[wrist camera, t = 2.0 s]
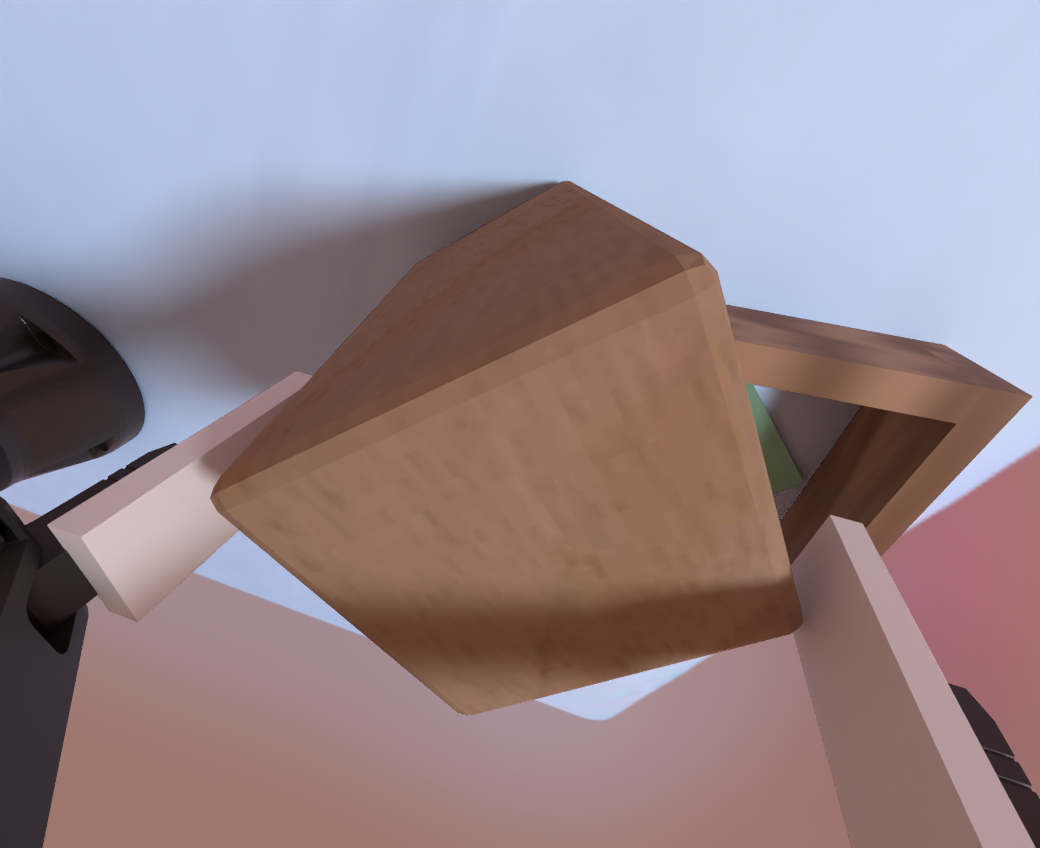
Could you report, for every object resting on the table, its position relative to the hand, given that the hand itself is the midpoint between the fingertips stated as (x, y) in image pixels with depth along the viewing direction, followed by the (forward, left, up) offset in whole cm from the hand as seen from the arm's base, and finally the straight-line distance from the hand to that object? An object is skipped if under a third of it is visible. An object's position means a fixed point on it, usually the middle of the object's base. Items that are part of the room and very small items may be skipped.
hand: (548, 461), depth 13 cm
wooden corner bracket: (+13, -9, -16) cm, 22 cm away
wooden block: (-3, 0, -16) cm, 16 cm away
